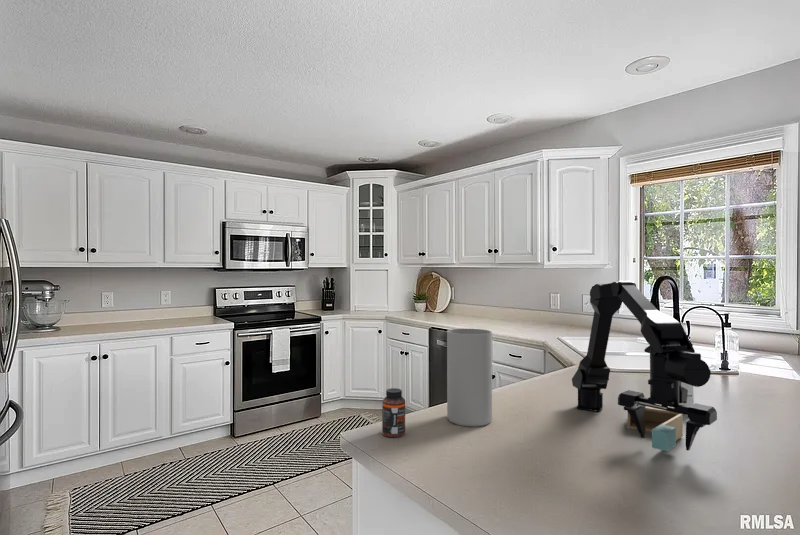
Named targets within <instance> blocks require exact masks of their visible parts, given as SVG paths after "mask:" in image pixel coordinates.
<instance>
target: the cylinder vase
mask: <svg viewBox="0 0 800 535" xmlns="http://www.w3.org/2000/svg"><path fill="white" fill-rule="evenodd" d="M446 345H447V346H446V348H447V349H446V355H447V356H446V362H447V364H446V365H447V366H446V368H447V369H446V371H447V372H446V378H447V379H446V384H447V385H446V395H447V396H446V397H447V398H446V400H447V401H446V404H447V406H446V407H447V408H446V410H447V413H446V415H447V419H448V421H449V422H450V423H452V424H455V425H457V426H463V427H468V428H469V427H471V428H472V427H473V428H475V427H477V428H478V427H483V426H487V425H488V424H490V423H492V420H493V331H492V330H488V329H481V328H452V329H447V331H446Z"/></svg>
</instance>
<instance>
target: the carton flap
mask: <svg viewBox="0 0 800 535" xmlns="http://www.w3.org/2000/svg"><path fill="white" fill-rule="evenodd" d="M683 431H684V430H683V414H679V415H677V416H675V417H673V418H671V419H670V420H668V421H666V422H664V423H663V424H661V425H659V426H657V427H656V428H654V429H652V432H651V447H652V448H654V449H658V450H660V451H664V452H669V450H671V449H672V448H674V447H675V446H676V445H677V441H678V440H680V439H681V438H682V437H683V436H684V434H683Z"/></svg>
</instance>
